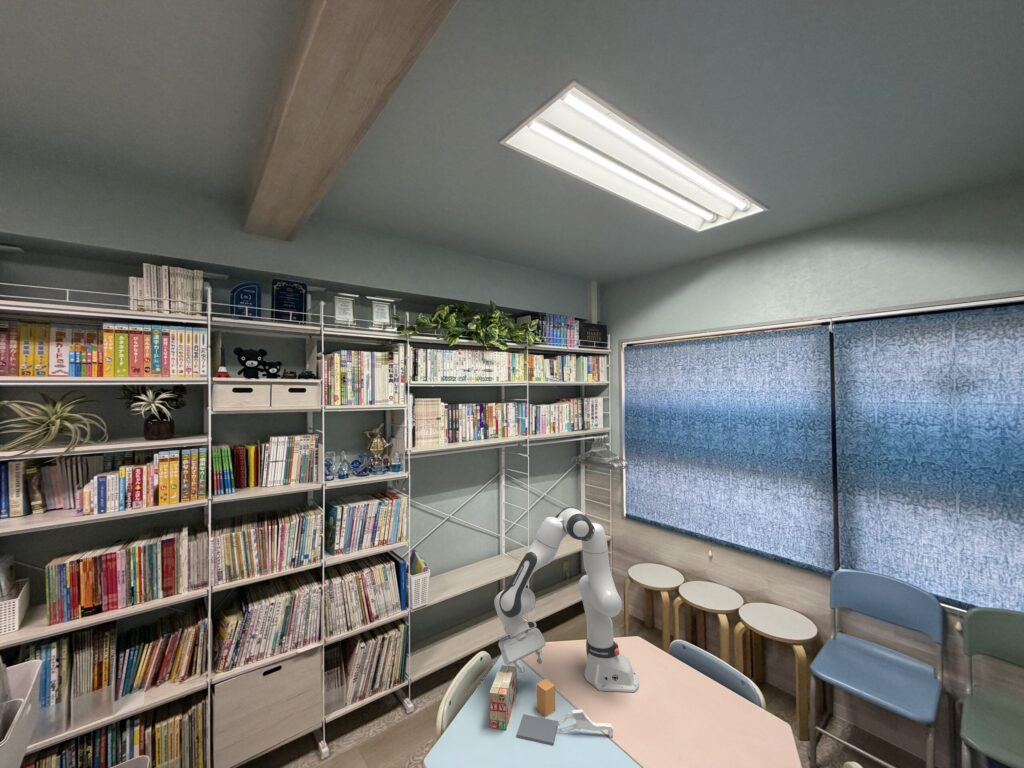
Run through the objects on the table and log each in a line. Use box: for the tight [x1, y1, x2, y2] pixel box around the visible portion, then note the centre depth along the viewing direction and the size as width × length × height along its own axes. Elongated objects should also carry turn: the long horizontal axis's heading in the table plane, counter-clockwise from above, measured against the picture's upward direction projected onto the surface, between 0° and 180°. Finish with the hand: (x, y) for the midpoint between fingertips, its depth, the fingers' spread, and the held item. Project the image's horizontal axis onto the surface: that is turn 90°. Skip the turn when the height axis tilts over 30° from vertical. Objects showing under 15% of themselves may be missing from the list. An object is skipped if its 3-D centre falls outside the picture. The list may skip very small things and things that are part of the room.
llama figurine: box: [556, 708, 615, 738], centre depth 138 cm, size 2×11×18 cm
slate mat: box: [515, 713, 559, 746], centre depth 139 cm, size 13×10×1 cm
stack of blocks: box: [489, 664, 518, 731], centre depth 151 cm, size 21×6×12 cm, turn 169°
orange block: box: [536, 678, 556, 718], centre depth 149 cm, size 5×5×9 cm
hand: (532, 667), depth 156 cm, fingers open, 8 cm apart
